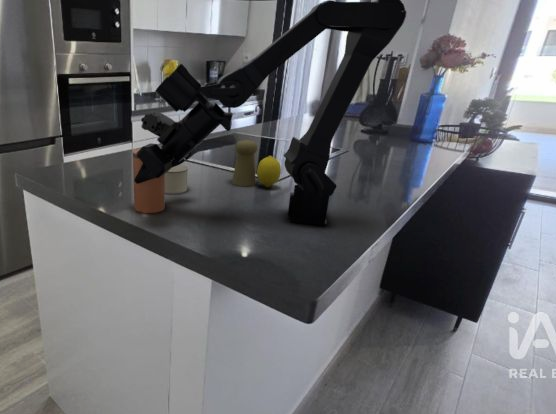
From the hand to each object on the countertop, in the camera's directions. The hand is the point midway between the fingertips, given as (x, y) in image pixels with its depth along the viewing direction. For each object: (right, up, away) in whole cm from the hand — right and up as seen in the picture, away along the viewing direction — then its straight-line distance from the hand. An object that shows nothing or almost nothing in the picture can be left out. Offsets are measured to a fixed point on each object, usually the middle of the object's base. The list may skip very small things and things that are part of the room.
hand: (143, 177), depth 81 cm
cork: (+26, 0, +18) cm, 32 cm away
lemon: (+31, -1, +14) cm, 34 cm away
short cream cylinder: (+7, -2, +14) cm, 16 cm away
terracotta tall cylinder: (+1, -6, +2) cm, 7 cm away
